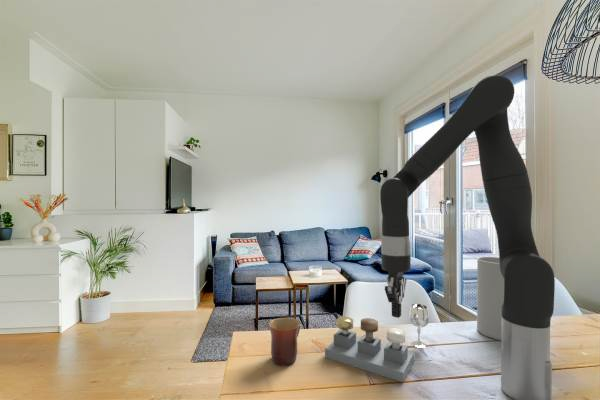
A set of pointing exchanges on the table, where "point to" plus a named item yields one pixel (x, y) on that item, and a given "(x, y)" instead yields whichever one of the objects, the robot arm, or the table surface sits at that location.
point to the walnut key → (369, 328)
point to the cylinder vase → (489, 297)
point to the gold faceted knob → (345, 324)
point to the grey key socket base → (371, 355)
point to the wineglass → (419, 321)
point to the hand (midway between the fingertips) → (396, 316)
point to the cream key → (396, 337)
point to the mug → (284, 340)
